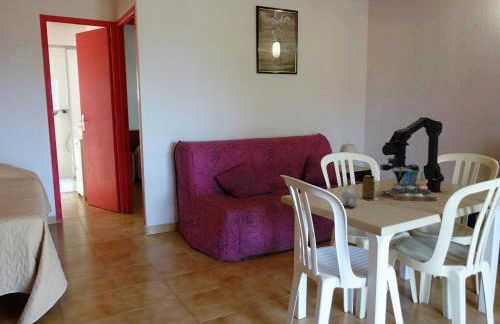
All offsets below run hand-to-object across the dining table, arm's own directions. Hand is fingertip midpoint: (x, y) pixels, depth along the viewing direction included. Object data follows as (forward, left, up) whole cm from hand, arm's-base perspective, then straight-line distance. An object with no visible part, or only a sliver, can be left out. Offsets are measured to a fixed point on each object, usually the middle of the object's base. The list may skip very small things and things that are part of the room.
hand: (398, 183), depth 212 cm
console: (-6, +3, -7) cm, 10 cm away
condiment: (+17, +7, -7) cm, 19 cm away
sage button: (-7, 0, -3) cm, 7 cm away
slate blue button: (0, 0, -3) cm, 3 cm away
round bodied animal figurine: (+28, +24, -7) cm, 38 cm away
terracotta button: (-13, 0, -3) cm, 13 cm away
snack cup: (-14, -31, -7) cm, 35 cm away
